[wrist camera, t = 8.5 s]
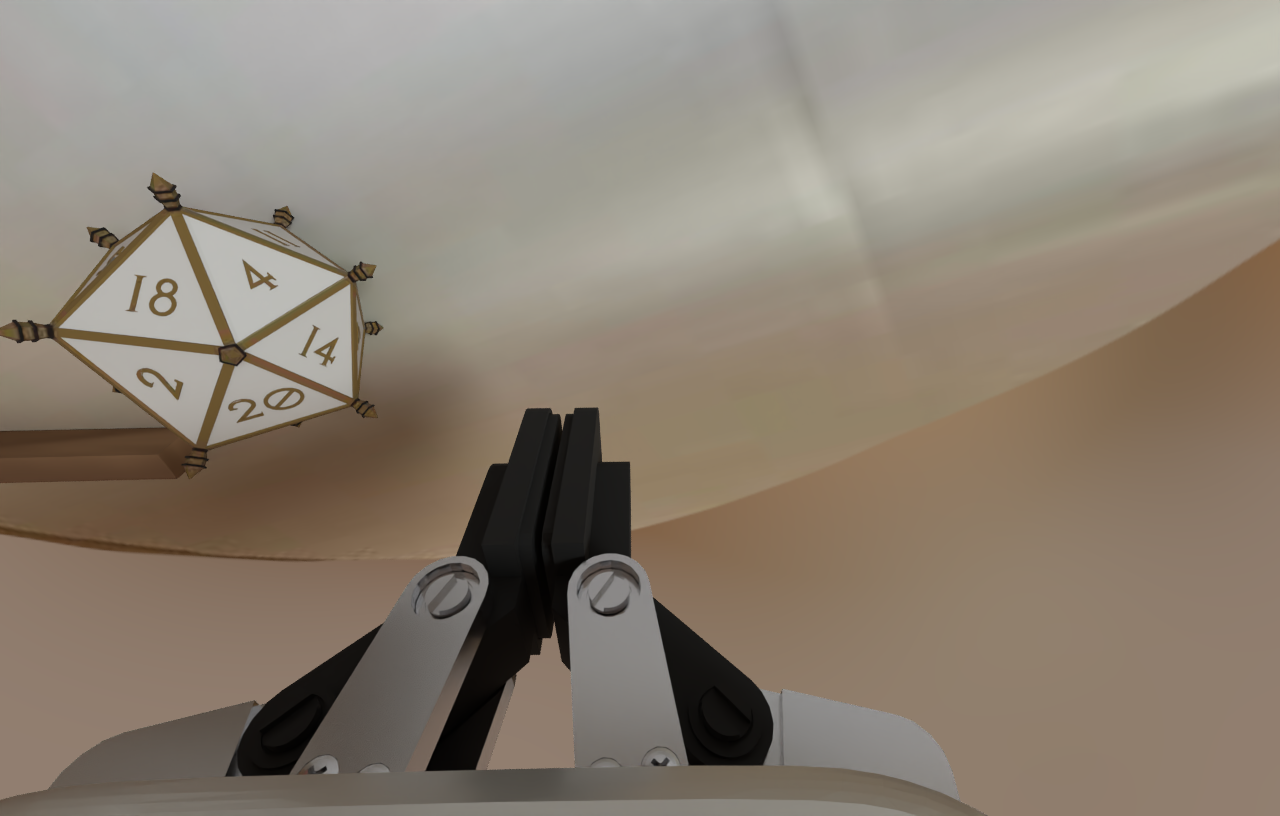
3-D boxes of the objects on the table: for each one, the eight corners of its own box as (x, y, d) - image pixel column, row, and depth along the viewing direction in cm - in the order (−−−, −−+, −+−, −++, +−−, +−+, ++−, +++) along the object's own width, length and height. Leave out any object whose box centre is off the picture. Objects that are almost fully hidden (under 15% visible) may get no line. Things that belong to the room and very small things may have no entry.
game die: (372, 224, 21) (425, 214, 13) (374, 405, 23) (421, 487, 15) (66, 172, 15) (-143, 105, 8) (105, 415, 18) (-30, 549, 10)
